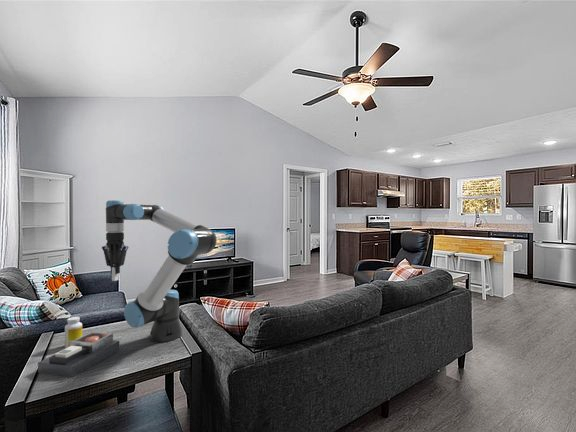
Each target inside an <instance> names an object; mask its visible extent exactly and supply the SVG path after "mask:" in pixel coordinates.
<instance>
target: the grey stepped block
mask: <svg viewBox="0 0 576 432" xmlns="http://www.w3.org/2000/svg"><path fill="white" fill-rule="evenodd" d="M91 336H99V340H97V341H95V342H93V343H90V342H85V339H86V338H88V337H91ZM70 346H80V347H82V350H81V351H79V352H77V353H75V354H73V355H71V356H69V357H67V358H59V357H55V354H53V355H51V356H49V357H47V358H45V359H42V360H40V361H38V362H37V373H38V374H44V375H52V376H54V375H55V376H62V377H68V378H69V377H70V378H75V377H76V376H78V375H79V374H81V373H82V372H84V371H86V370H87V369H90V367H93V366H95V365H96V364H98V363H100V362H101V361H103V360H104V359H106V358H108V357H110V356H111V355H113V354H114V353H116V352H118V351H119V350H120V340H115V339H114V333H113V332H112V333H109V332H101V331H99V332H98V331H90V332H89V333H86V334H84V335H82V337H80V338H77V339H75V340H73V341H71V342H70Z"/></svg>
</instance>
